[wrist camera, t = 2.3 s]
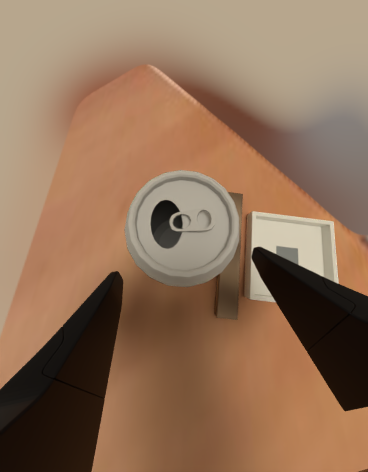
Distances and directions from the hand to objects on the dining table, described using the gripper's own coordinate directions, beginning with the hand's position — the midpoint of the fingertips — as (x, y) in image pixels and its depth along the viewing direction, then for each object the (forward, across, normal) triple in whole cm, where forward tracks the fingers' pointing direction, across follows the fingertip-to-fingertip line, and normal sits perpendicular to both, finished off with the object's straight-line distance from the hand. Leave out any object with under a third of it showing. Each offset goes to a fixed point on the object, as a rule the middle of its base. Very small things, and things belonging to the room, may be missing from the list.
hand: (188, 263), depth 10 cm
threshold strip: (+7, -6, +7) cm, 12 cm away
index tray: (+6, -14, +8) cm, 17 cm away
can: (+9, 0, +5) cm, 10 cm away
